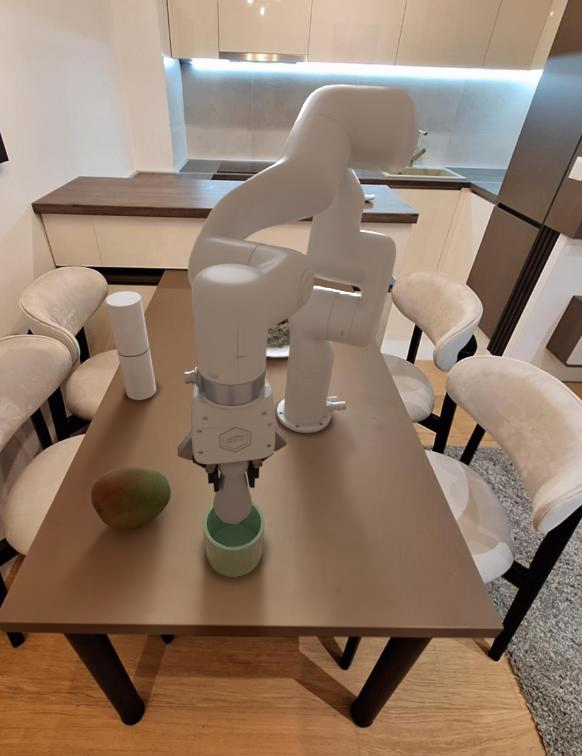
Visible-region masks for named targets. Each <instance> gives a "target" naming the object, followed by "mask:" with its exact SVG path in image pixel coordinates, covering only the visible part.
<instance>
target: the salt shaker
mask: <svg viewBox="0 0 582 756" xmlns="http://www.w3.org/2000/svg"><path fill="white" fill-rule="evenodd" d="M217 465H218V472H219V491H218V492H214V498H213V502H212V505H213V506H214V510H215V513H216V514H217V516H218V517H219V518H220V519H221V520H222V521H223V522H224V523H228V524H233V525H236V524H238V523H239V522H241V521H242V520H244V519H245V518H246V517H247V516H248V515H249V514H250V512H251V508H252V504H253V503H252V502H253V500H252V496H251V492H250V487H249V482H248V477H247V469H248V466H249V460H247V461H238V462H228V463H218V464H217Z"/></svg>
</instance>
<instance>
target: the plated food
mask: <svg viewBox="0 0 582 756" xmlns="http://www.w3.org/2000/svg"><path fill="white" fill-rule="evenodd" d="M289 344H290V333H289V322H288V318H287V319H285V320H284V321H282V322H280V323H278V324H276V325H274V326H272V327H271V328H269V329H268V334H267V353H266V358H275V359H276V358H288V357H289Z"/></svg>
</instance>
